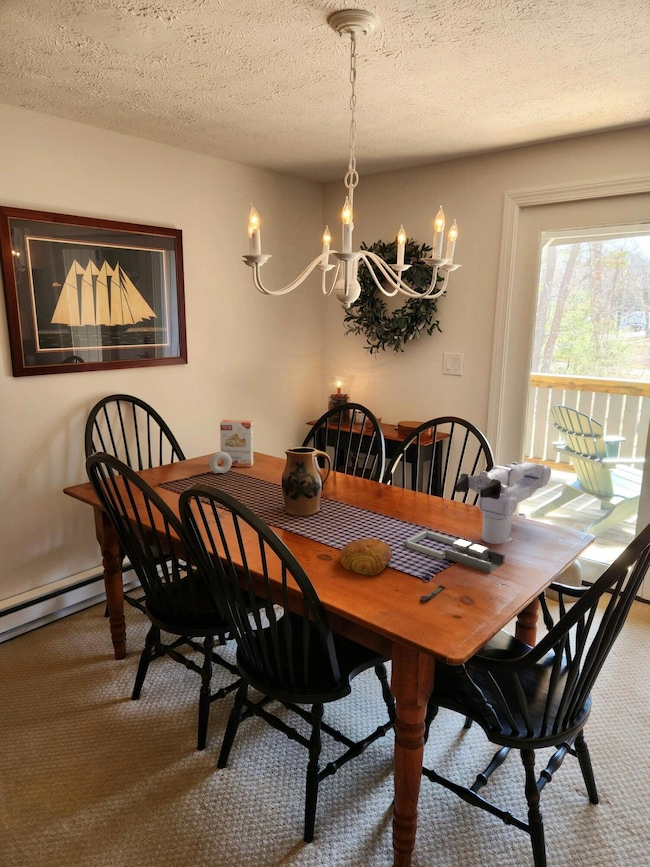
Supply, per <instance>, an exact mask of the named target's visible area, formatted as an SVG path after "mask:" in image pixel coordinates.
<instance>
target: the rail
mask: <svg viewBox="0 0 650 867" xmlns="http://www.w3.org/2000/svg"><path fill="white" fill-rule="evenodd" d="M473 545H474V543H472V546H473ZM444 559H447V560H450V561H454V562H457V563H460V564H462V565H465V566H468V567H471V568H473V569H476V570H480V571H483V572H484V573H488V574H491V573H492V572H493V571H495V570H496V569H498V568H499V567H500V566H502V565H503V564H505V562H506V561H505V560H506V553H503V552H500V551H499V552H498V551H496V550H492V549H489V548H488V559H487V561H484V560H481V559H478V558H475V557H472V556H469V555H466V554H463V553H460V552H457V551H454V550H452V549H450V548H444Z"/></svg>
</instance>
